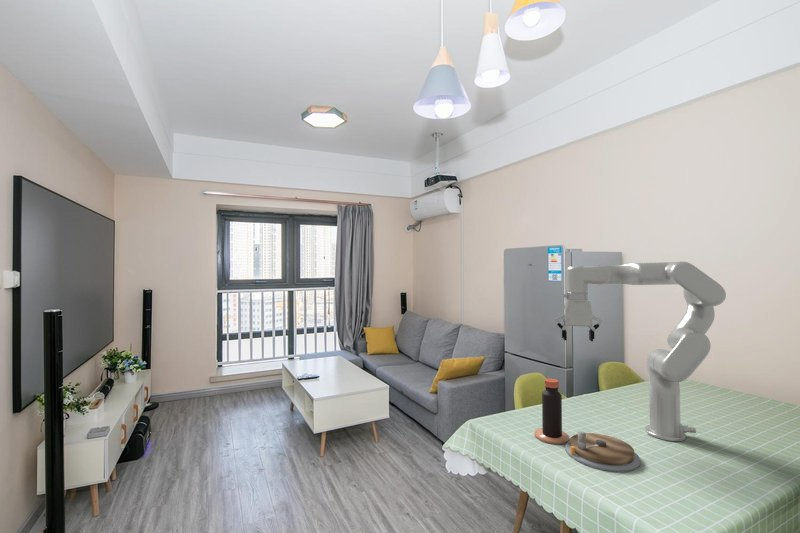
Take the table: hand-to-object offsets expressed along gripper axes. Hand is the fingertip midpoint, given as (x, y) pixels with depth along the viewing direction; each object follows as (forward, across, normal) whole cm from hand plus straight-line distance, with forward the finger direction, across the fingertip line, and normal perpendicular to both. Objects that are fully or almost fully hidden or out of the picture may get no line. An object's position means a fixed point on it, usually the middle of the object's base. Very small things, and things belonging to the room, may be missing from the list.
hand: (577, 340), depth 151 cm
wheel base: (+34, +2, -23) cm, 41 cm away
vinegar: (+34, -12, -12) cm, 37 cm away
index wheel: (+33, +2, -23) cm, 40 cm away
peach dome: (+34, -12, -12) cm, 38 cm away
